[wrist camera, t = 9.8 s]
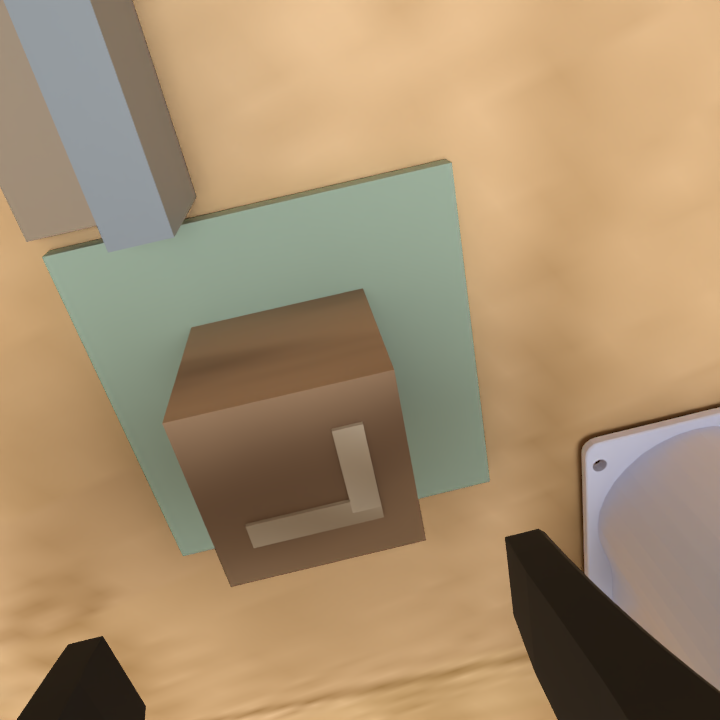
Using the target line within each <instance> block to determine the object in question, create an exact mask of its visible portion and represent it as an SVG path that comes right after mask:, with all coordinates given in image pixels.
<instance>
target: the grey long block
mask: <svg viewBox="0 0 720 720" xmlns="http://www.w3.org/2000/svg"><path fill="white" fill-rule="evenodd" d="M0 187H1V189H2V191H3V194H4V196H5V198H6V200H7V202H8V204H9V206H10V208H11V210H12V212H13V214H14V217H15V219H16V221H17V223H18V225H19V227H20V229H21V231H22V233H23V235H24V237H25V239H26V242H28V241H33V240H37V239H41V238H46V237H50V236H54V235H59V234H63V233H67V232H72V231H76V230H80V229H85V228H89V227H93V226H97V227H98V230H99V232H100V235H101V237H102V239H103V242H104V244H105V247H106V249H107V251H108V253H109V252H113V251H118V250H122V249H126V248H131V247H135V246H139V245H144V244H148V243H152V242H157V241H161V240H165V239H170V238H174V237H175V235H176V233H177V232H178V230H179V228H180V226H181V224H182V222H183V221H184V219H185V217H186V215H187V213H188V211H189V210H190V208H191V206H192V204H193V202H194V201H195V199H196V194H195V191H194V188H193V185H192V182H191V179H190V176H189V173H188V170H187V167H186V164H185V161H184V157H183V154H182V151H181V148H180V145H179V142H178V139H177V136H176V133H175V130H174V127H173V124H172V121H171V118H170V115H169V111H168V108H167V105H166V102H165V99H164V96H163V93H162V90H161V87H160V84H159V81H158V78H157V75H156V72H155V69H154V66H153V62H152V59H151V56H150V53H149V50H148V47H147V44H146V41H145V38H144V35H143V32H142V29H141V26H140V23H139V20H138V16H137V13H136V10H135V7H134V4H133V1H132V0H0Z"/></svg>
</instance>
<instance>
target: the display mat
mask: <svg viewBox="0 0 720 720" xmlns="http://www.w3.org/2000/svg"><path fill="white" fill-rule="evenodd" d="M42 258H43V260H44V263H45V265H46V267H47V269H48V271H49V273H50V275H51V277H52V279H53V282H54V284H55V286H56V288H57V290H58V292H59V294H60V296H61V299H62V301H63V303H64V305H65V307H66V309H67V311H68V313H69V316H70V318H71V320H72V322H73V324H74V326H75V328H76V330H77V332H78V335H79V337H80V339H81V341H82V343H83V345H84V347H85V349H86V352H87V354H88V356H89V358H90V360H91V362H92V364H93V366H94V369H95V371H96V373H97V375H98V377H99V379H100V381H101V383H102V385H103V388H104V390H105V392H106V394H107V396H108V398H109V400H110V402H111V405H112V407H113V409H114V411H115V413H116V415H117V417H118V419H119V422H120V424H121V426H122V428H123V430H124V432H125V434H126V436H127V439H128V441H129V443H130V445H131V447H132V449H133V451H134V453H135V455H136V458H137V460H138V462H139V464H140V466H141V468H142V470H143V472H144V475H145V477H146V479H147V481H148V483H149V485H150V487H151V489H152V492H153V494H154V496H155V498H156V500H157V502H158V504H159V506H160V508H161V511H162V513H163V515H164V517H165V519H166V521H167V523H168V525H169V528H170V530H171V532H172V534H173V536H174V538H175V540H176V542H177V545H178V547H179V549H180V551H181V553H182V555H183V556H186V555H190V554H194V553H198V552H202V551H207V550H211V549H215V548H214V545H213V543H212V541H211V538H210V536H209V534H208V531H207V529H206V526H205V524H204V522H203V519H202V517H201V515H200V512H199V510H198V507H197V505H196V503H195V500H194V498H193V496H192V493H191V491H190V488H189V486H188V484H187V481H186V479H185V477H184V474H183V472H182V469H181V467H180V465H179V462H178V460H177V458H176V455H175V453H174V450H173V448H172V446H171V443H170V441H169V439H168V436H167V434H166V431H165V429H164V427H163V424H162V422H163V419H164V416H165V412H166V409H167V406H168V403H169V399H170V396H171V393H172V389H173V386H174V383H175V379H176V376H177V373H178V370H179V366H180V363H181V360H182V356H183V353H184V350H185V347H186V343H187V340H188V337H189V333H190V330H191V327H195V326H200V325H204V324H208V323H213V322H217V321H222V320H226V319H230V318H235V317H239V316H243V315H248V314H252V313H257V312H261V311H265V310H270V309H274V308H279V307H283V306H287V305H292V304H296V303H301V302H305V301H309V300H314V299H318V298H322V297H327V296H331V295H336V294H340V293H344V292H349V291H353V290H358V289H362V288H363V290H364V292H365V295H366V298H367V300H368V303H369V305H370V308H371V311H372V313H373V316H374V319H375V321H376V324H377V326H378V329H379V332H380V334H381V337H382V339H383V342H384V345H385V347H386V350H387V352H388V355H389V358H390V360H391V363H392V365H393V368H394V372H395V377H396V382H397V388H398V393H399V398H400V404H401V409H402V414H403V420H404V425H405V430H406V436H407V441H408V446H409V452H410V457H411V462H412V468H413V473H414V479H415V484H416V489H417V495H418V499H420V498H424V497H428V496H432V495H436V494H440V493H444V492H448V491H452V490H456V489H460V488H465V487H469V486H473V485H477V484H481V483H485V482H489V481H490V478H489V470H488V461H487V453H486V445H485V436H484V428H483V420H482V411H481V403H480V395H479V386H478V378H477V370H476V361H475V353H474V345H473V336H472V328H471V320H470V311H469V303H468V295H467V287H466V278H465V270H464V262H463V253H462V245H461V237H460V228H459V220H458V212H457V203H456V195H455V187H454V178H453V170H452V162H450V161H448V160H447V159H444V160H440V161H435V162H431V163H427V164H422V165H418V166H414V167H409V168H405V169H401V170H396V171H392V172H388V173H383V174H379V175H375V176H370V177H366V178H362V179H357V180H353V181H349V182H344V183H340V184H336V185H331V186H327V187H323V188H318V189H314V190H310V191H305V192H301V193H297V194H292V195H288V196H284V197H279V198H275V199H271V200H266V201H262V202H258V203H253V204H249V205H245V206H240V207H236V208H232V209H227V210H223V211H219V212H215V213H210V214H206V215H202V216H197V217H193V218H189V219H184V221H183V222H182V224H181V226H180V228H179V230H178V232H177V233H176V235H175V237H174V238H170V239H165V240H161V241H157V242H152V243H148V244H144V245H139V246H135V247H131V248H126V249H122V250H118V251H113V252H109V253H108V251H107V249H106V247H105V244H104V242H103V239H98V240H93V241H89V242H85V243H80V244H76V245H72V246H67V247H63V248H59V249H54V250H50V251H49V252H47V253H46V254H45V255H44V256H43V257H42Z"/></svg>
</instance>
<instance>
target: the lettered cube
mask: <svg viewBox="0 0 720 720" xmlns="http://www.w3.org/2000/svg"><path fill="white" fill-rule="evenodd" d="M162 424H163V427H164V429H165V431H166V434H167V436H168V439H169V441H170V443H171V446H172V448H173V450H174V453H175V455H176V458H177V460H178V462H179V465H180V467H181V469H182V472H183V474H184V477H185V479H186V481H187V484H188V486H189V488H190V491H191V493H192V496H193V498H194V500H195V503H196V505H197V507H198V510H199V512H200V515H201V517H202V519H203V522H204V524H205V526H206V529H207V531H208V534H209V536H210V538H211V541H212V543H213V545H214V548H215V550H216V553H217V555H218V557H219V560H220V562H221V564H222V567H223V569H224V572H225V574H226V576H227V579H228V581H229V583H230V586H231V587H233V586H237V585H241V584H245V583H249V582H254V581H258V580H262V579H266V578H270V577H274V576H279V575H283V574H287V573H291V572H295V571H299V570H304V569H308V568H312V567H316V566H320V565H324V564H329V563H333V562H337V561H341V560H345V559H349V558H354V557H358V556H362V555H366V554H370V553H374V552H379V551H383V550H387V549H391V548H395V547H399V546H404V545H408V544H412V543H416V542H420V541H424V540H426V537H425V532H424V527H423V521H422V516H421V511H420V505H419V500H418V495H417V489H416V484H415V479H414V473H413V468H412V462H411V457H410V452H409V446H408V441H407V436H406V430H405V425H404V420H403V414H402V409H401V404H400V398H399V393H398V388H397V382H396V377H395V372H394V368H393V365H392V363H391V360H390V358H389V355H388V352H387V350H386V347H385V345H384V342H383V339H382V337H381V334H380V332H379V329H378V326H377V324H376V321H375V319H374V316H373V313H372V311H371V308H370V305H369V303H368V300H367V298H366V295H365V292H364V290H363V288H362V289H358V290H353V291H349V292H344V293H340V294H336V295H331V296H327V297H322V298H318V299H314V300H309V301H305V302H301V303H296V304H292V305H287V306H283V307H279V308H274V309H270V310H265V311H261V312H257V313H252V314H248V315H243V316H239V317H235V318H230V319H226V320H222V321H217V322H213V323H208V324H204V325H200V326H195V327H191V330H190V333H189V337H188V340H187V343H186V347H185V350H184V353H183V356H182V360H181V363H180V366H179V370H178V373H177V376H176V379H175V383H174V386H173V389H172V393H171V396H170V399H169V403H168V406H167V409H166V412H165V416H164V419H163V422H162Z"/></svg>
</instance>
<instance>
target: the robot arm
mask: <svg viewBox="0 0 720 720" xmlns="http://www.w3.org/2000/svg"><path fill="white" fill-rule="evenodd" d="M598 460H600V461H599V463H597V464H595V465H593V464H594V463H595V462H596V461H598ZM582 491H583V531H584V570H585V574H584V573H583V572H582V571H581V570H580V569H579V568H578V567H577V566H576V565H575V564H574V563H573V562H572V561H571V560H570V559H569V558H568V557H567V556H566V555H565V554H564V553H563V552H562V551H561V549H560V548H559V547H558V546H557V545H556V544H555V543H554V542H553V541H552V540H551V539H550V538H549V537H548V535H547V534H546V533H545V532H543V531H541V530H540V529H536V530H532V531H528V532H524V533H520V534H516V535H512V536H508V537H505V542H506V551H507V560H508V569H509V578H510V587H511V596H512V605H513V614H514V617H515V620H516V623H517V625H518V628H519V631H520V634H521V636H522V639H523V642H524V644H525V647H526V650H527V652H528V655H529V658H530V660H531V663H532V666H533V668H534V671H535V673H536V676H537V678H538V680H539V682H540V684H541V686H542V688H543V690H544V692H545V694H546V696H547V698H548V700H549V702H550V705H551V707H552V709H553V711H554V713H555V715H556V717H557V719H558V720H720V407H718V408H714V409H710V410H706V411H702V412H698V413H693V414H689V415H685V416H681V417H677V418H673V419H669V420H665V421H661V422H657V423H652V424H648V425H644V426H640V427H636V428H632V429H628V430H624V431H620V432H615V433H611V434H607V435H603V436H599V437H595V438H592V439H590V440H589V441H587V442H586V443H585V444H584V446H583V447H582ZM145 710H146V706H145V704H144V702H143V701H142V699H141V698H140V696H139V694H138V693H137V691H136V689H135V688H134V686H133V685H132V683H131V681H130V680H129V678H128V676H127V675H126V673H125V672H124V670H123V668H122V667H121V665H120V663H119V662H118V660H117V659H116V657H115V655H114V654H113V652H112V650H111V649H110V647H109V646H108V644H107V642H106V641H105V639H104V637H103V636H101V637H97V638H93V639H88V640H84V641H80V642H76V643H72V644H68V646H67V647H66V648H65V650H64V651H63V653H62V654H61V655H60V657H59V658H58V660H57V661H56V663H55V664H54V665H53V667H52V668H51V670H50V671H49V673H48V674H47V676H46V677H45V679H44V680H43V682H42V683H41V685H40V686H39V688H38V689H37V691H36V692H35V693H34V695H33V696H32V698H31V699H30V701H29V702H28V704H27V705H26V707H25V708H24V710H23V711H22V713H21V714H20V716H19V717H18V718H17V720H145Z"/></svg>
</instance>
